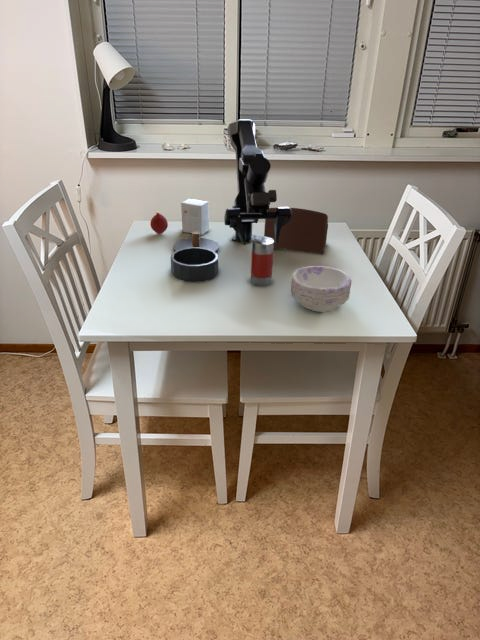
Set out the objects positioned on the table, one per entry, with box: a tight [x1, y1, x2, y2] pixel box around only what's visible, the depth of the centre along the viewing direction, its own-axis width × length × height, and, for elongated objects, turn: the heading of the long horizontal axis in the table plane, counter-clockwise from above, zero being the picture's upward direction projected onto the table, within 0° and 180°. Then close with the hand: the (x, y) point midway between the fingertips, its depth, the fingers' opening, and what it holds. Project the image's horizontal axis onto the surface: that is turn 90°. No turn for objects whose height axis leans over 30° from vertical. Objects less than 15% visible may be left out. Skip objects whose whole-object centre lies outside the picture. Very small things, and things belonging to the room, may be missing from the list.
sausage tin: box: [250, 236, 275, 287], centre depth 136 cm, size 6×6×12 cm
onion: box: [149, 211, 169, 235], centre depth 167 cm, size 6×6×8 cm
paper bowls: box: [290, 265, 352, 313], centre depth 127 cm, size 15×15×8 cm
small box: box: [180, 198, 210, 236], centre depth 170 cm, size 8×6×10 cm
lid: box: [173, 232, 220, 253], centre depth 157 cm, size 15×15×6 cm
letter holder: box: [263, 207, 329, 255], centre depth 160 cm, size 10×20×14 cm, turn 76°
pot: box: [170, 247, 219, 283], centre depth 142 cm, size 14×14×5 cm
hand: (260, 243), depth 137 cm, fingers open, 9 cm apart
